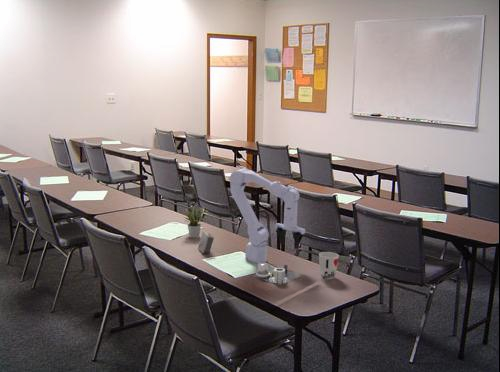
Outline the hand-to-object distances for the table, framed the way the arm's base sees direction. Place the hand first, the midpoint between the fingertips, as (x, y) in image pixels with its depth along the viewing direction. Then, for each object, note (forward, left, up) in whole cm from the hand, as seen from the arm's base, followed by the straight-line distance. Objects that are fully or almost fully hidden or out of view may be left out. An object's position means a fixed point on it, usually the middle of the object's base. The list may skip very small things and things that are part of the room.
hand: (289, 246), depth 231 cm
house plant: (-65, +7, -10) cm, 66 cm away
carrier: (+4, -14, -10) cm, 18 cm away
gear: (+8, -18, -9) cm, 22 cm away
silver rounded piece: (0, -18, -9) cm, 20 cm away
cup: (+19, +2, -10) cm, 22 cm away
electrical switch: (-44, -8, -10) cm, 46 cm away
